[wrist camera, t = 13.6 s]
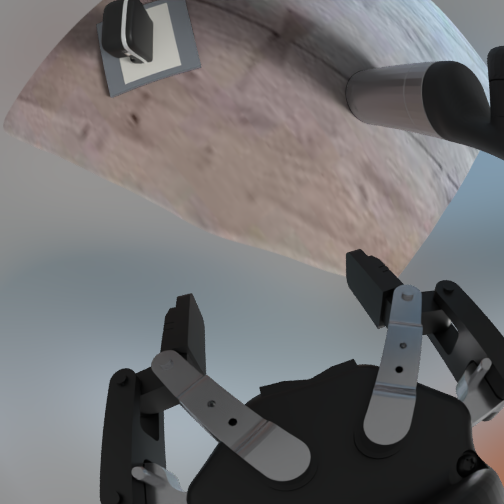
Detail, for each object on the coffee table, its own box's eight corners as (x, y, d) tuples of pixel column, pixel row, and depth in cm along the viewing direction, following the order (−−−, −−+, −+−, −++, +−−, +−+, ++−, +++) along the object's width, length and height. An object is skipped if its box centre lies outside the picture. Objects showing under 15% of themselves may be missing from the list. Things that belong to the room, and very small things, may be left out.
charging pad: (183, -5, 24) (183, -7, 23) (201, 67, 30) (201, 66, 29) (98, 26, 23) (96, 24, 23) (113, 97, 30) (110, 97, 29)
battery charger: (127, 26, 24) (100, -1, 14) (154, 21, 25) (134, -11, 15) (126, 68, 27) (95, 53, 17) (153, 63, 28) (131, 44, 18)
